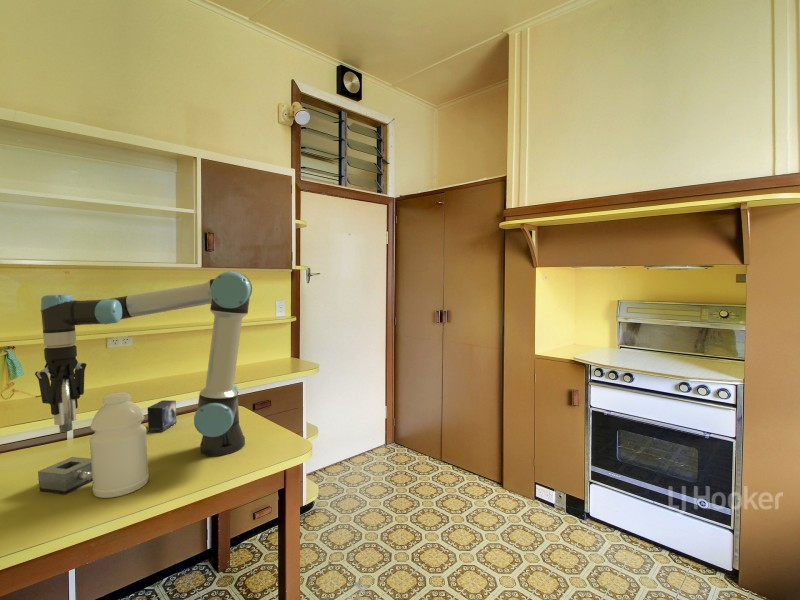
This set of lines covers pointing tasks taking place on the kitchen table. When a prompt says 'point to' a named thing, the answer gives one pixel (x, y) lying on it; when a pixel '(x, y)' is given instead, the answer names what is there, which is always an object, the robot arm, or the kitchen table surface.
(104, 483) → the bottle
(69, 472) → the block
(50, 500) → the kitchen table surface
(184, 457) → the kitchen table surface
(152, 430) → the small box
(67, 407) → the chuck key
